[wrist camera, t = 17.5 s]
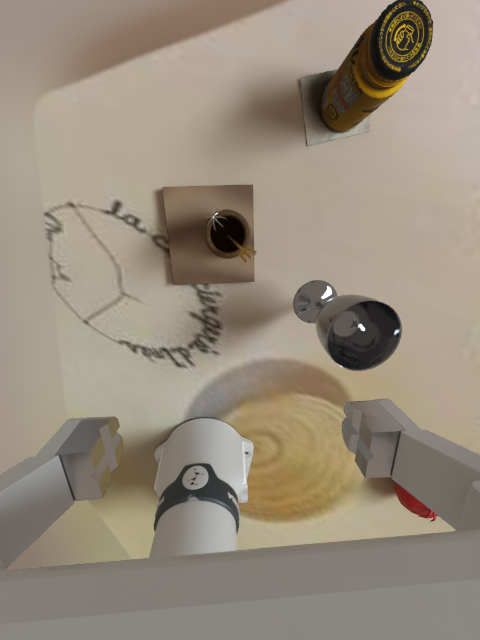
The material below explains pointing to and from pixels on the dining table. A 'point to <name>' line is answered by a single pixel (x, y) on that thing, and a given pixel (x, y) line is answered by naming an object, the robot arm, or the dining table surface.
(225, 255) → the utensil holder
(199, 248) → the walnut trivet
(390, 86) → the condiment
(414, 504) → the pomegranate
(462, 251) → the dining table surface
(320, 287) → the wine glass
